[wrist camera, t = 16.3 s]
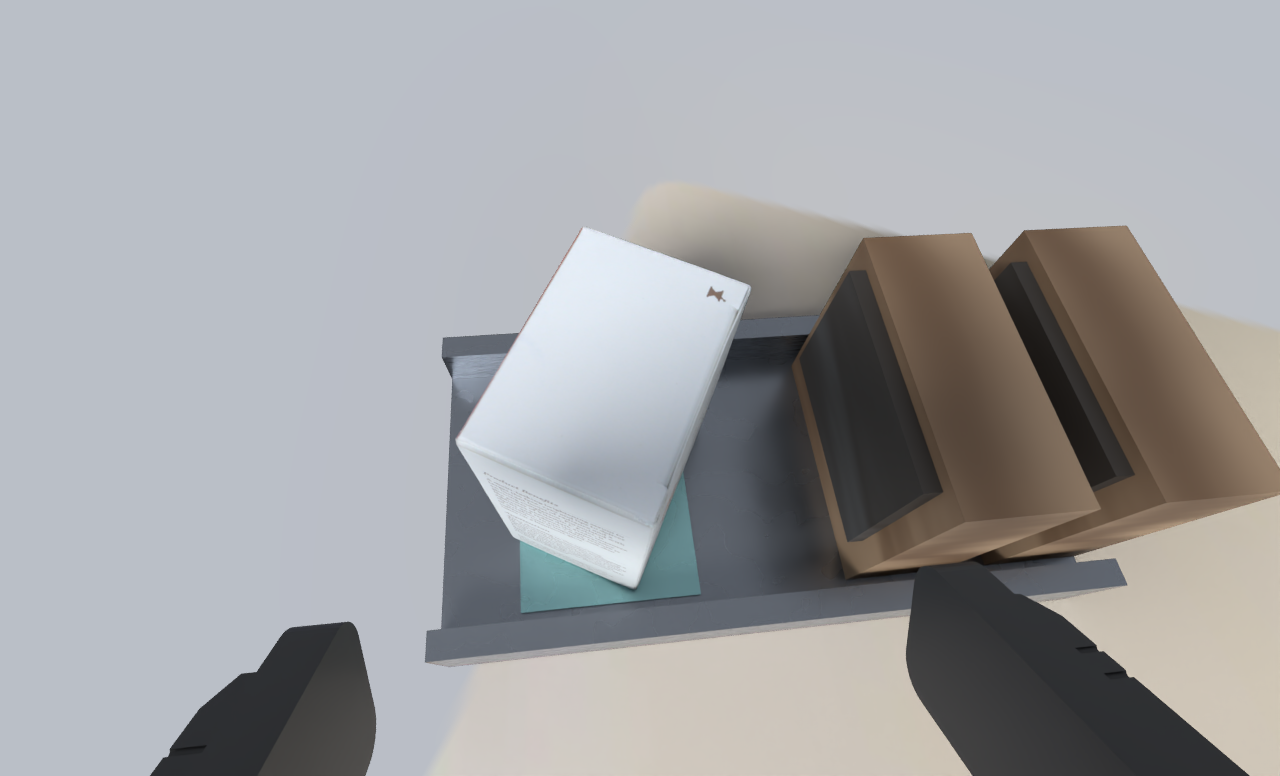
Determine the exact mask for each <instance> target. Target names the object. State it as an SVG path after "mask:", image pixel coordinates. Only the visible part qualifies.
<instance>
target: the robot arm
mask: <svg viewBox="0 0 1280 776" xmlns="http://www.w3.org/2000/svg"><path fill="white" fill-rule="evenodd" d="M906 661H907V668H908V672H909V676H910V679H911V682H912V685H913V687H914V689H915V691H916V693H917V695H918V697H919V699H920V700H921V702H922V703H923V705H924V706H925V707H926V709H927V710H928V712H929V713H930V715H931V716H932V718H933V719H934V721H935V722H936V723H937V725H938V726H939V728H940V729H941V731H942V732H943V734H944V735H945V736H946V738H947V739H948V741H949V742H950V744H951V745H952V747H953V748H954V749H955V751H956V752H957V754H958V755H959V757H960V758H961V760H962V761H963V762H964V764H965V765H966V767H967V768H968V770H969V771H970V773H971V774H972V775H973V776H1249V775H1248V774H1247V773H1246V772H1245V771H1243V770H1242V769H1241V768H1240V767H1239V766H1237V765H1236V764H1235V763H1234V762H1233V761H1232V760H1230V759H1229V758H1228V757H1227V756H1226V755H1225V754H1223V753H1222V752H1221V751H1220V750H1219V749H1218V748H1216V747H1215V746H1214V745H1213V744H1212V743H1211V742H1209V741H1208V740H1207V739H1206V738H1205V737H1203V736H1202V735H1201V734H1200V733H1199V732H1198V731H1196V730H1195V729H1194V728H1193V727H1192V726H1191V725H1189V724H1188V723H1187V722H1186V721H1185V720H1184V719H1182V718H1181V717H1180V716H1179V715H1178V714H1177V713H1175V712H1174V711H1173V710H1172V709H1171V708H1169V707H1168V706H1167V705H1166V704H1165V703H1164V702H1162V701H1161V700H1160V699H1159V698H1158V697H1157V696H1155V695H1154V694H1153V693H1152V692H1151V691H1150V690H1148V689H1147V688H1146V687H1145V686H1144V685H1142V684H1141V683H1140V682H1139V681H1138V680H1137V679H1135V678H1134V677H1132V678H1129V677H1128V676H1127V674H1126V670H1125V669H1124V668H1123V667H1121V666H1120V665H1119V664H1118V663H1117V662H1116V661H1114V660H1113V659H1112V658H1111V657H1110V656H1108V655H1107V654H1106V653H1105V652H1104V651H1102V652H1099V651H1098V650H1097V645H1096V644H1094V643H1093V642H1092V641H1091V640H1090V639H1089V638H1087V637H1086V636H1085V635H1084V634H1083V633H1081V632H1080V631H1079V630H1078V629H1077V628H1076V627H1074V626H1073V625H1072V624H1071V623H1070V622H1069V621H1067V620H1066V619H1065V618H1064V617H1063V616H1061V615H1059V614H1057V613H1056V612H1054V611H1052V610H1050V609H1048V608H1046V607H1044V606H1043V605H1041V604H1039V603H1037V602H1035V601H1033V600H1031V599H1030V598H1028V597H1026V596H1024V595H1022V594H1014V593H1013V592H1012V591H1011V590H1010V589H1009V588H1008V587H1006V586H1005V585H1004V584H1003V583H1002V582H1001V581H1000V580H999V579H997V578H996V577H995V576H994V575H993V574H992V573H991V572H990V571H988V570H987V569H986V568H985V567H984V566H982V565H981V564H979V563H977V562H973V561H971V562H960V563H950V564H940V565H930V566H923V567H921V568H920V569H919V570H918V571H917V573H916V576H915V580H914V588H913V596H912V605H911V613H910V622H909V630H908V639H907V647H906ZM375 734H376V714H375V707H374V702H373V698H372V693H371V689H370V684H369V680H368V676H367V671H366V667H365V662H364V658H363V653H362V649H361V644H360V640H359V635H358V632H357V630H356V628H355V626H354V625H353V624H352V623H351V622H341V623H331V624H321V625H312V626H302V627H292V628H289V629H288V630H287V631H285V632H284V633H283V634H282V636H281V637H280V638H279V640H278V641H277V643H276V644H275V646H274V647H273V649H272V650H271V652H270V653H269V655H268V656H267V658H266V659H265V660H264V662H263V664H262V665H261V666H260V668H259V669H258V671H257V672H254V673H244V674H241V675H239V676H238V677H237V678H236V679H235V680H233V681H232V682H231V683H230V684H229V685H227V686H226V687H225V688H224V689H223V690H221V691H220V692H219V693H218V694H217V695H215V696H214V697H213V698H212V699H211V700H209V702H207V703H206V704H205V705H204V706H202V707H201V708H200V709H199V710H198V712H197V713H196V714H195V716H194V717H193V718H192V720H191V721H190V722H189V724H188V725H187V726H186V728H185V729H184V731H183V732H182V733H181V735H180V736H179V737H178V739H177V740H176V741H175V743H174V744H173V745H172V747H171V748H170V754H169V756H168V757H165V758H163V759H162V760H161V762H160V763H159V764H158V766H157V767H156V768H155V770H154V771H153V772H152V774H151V775H150V776H365V775H366V772H367V769H368V766H369V764H370V760H371V757H372V753H373V749H374V742H375Z"/></svg>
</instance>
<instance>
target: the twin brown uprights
mask: <svg viewBox="0 0 1280 776" xmlns="http://www.w3.org/2000/svg"><path fill="white" fill-rule="evenodd" d="M791 367H792V370H793V374H794V378H795V382H796V386H797V390H798V394H799V398H800V402H801V406H802V410H803V414H804V418H805V422H806V425H807V429H808V433H809V437H810V441H811V445H812V449H813V453H814V457H815V461H816V465H817V469H818V473H819V477H820V480H821V484H822V488H823V492H824V496H825V500H826V504H827V508H828V512H829V516H830V520H831V524H832V528H833V532H834V536H835V539H836V543H837V547H838V551H839V555H840V559H841V563H842V567H843V571H844V575H845V579H846V580H849V579H859V578H869V577H878V576H888V575H897V574H907V573H917V571H918V570H919V569H920V568H921V567H923V566H930V565H940V564H950V563H959V562H962V561H965V560H967V559H970V558H973V557H975V556H978V555H981V557H982V560H983V562H984V565H994V564H1003V563H1013V562H1023V561H1032V560H1042V559H1051V558H1061V557H1071V556H1076V555H1079V554H1083V553H1086V552H1089V551H1093V550H1096V549H1099V548H1103V547H1106V546H1109V545H1113V544H1116V543H1120V542H1123V541H1126V540H1130V539H1133V538H1136V537H1140V536H1143V535H1146V534H1150V533H1153V532H1156V531H1160V530H1163V529H1166V528H1170V527H1173V526H1176V525H1180V524H1183V523H1187V522H1190V521H1193V520H1197V519H1200V518H1203V517H1207V516H1210V515H1213V514H1217V513H1220V512H1223V511H1227V510H1230V509H1233V508H1237V507H1240V506H1243V505H1247V504H1250V503H1254V502H1257V501H1260V500H1264V499H1267V498H1270V497H1274V496H1277V495H1280V468H1279V467H1278V465H1277V464H1276V462H1275V460H1274V459H1273V457H1272V456H1271V454H1270V453H1269V451H1268V449H1267V448H1266V446H1265V445H1264V443H1263V441H1262V440H1261V438H1260V437H1259V435H1258V433H1257V432H1256V430H1255V429H1254V427H1253V426H1252V424H1251V422H1250V421H1249V419H1248V418H1247V416H1246V414H1245V413H1244V411H1243V410H1242V408H1241V406H1240V405H1239V403H1238V402H1237V400H1236V398H1235V397H1234V395H1233V394H1232V392H1231V391H1230V389H1229V387H1228V386H1227V384H1226V383H1225V381H1224V379H1223V378H1222V376H1221V375H1220V373H1219V371H1218V370H1217V368H1216V367H1215V365H1214V363H1213V362H1212V360H1211V359H1210V357H1209V356H1208V354H1207V352H1206V351H1205V349H1204V348H1203V346H1202V344H1201V343H1200V341H1199V340H1198V338H1197V336H1196V335H1195V333H1194V332H1193V330H1192V329H1191V327H1190V325H1189V324H1188V322H1187V321H1186V319H1185V317H1184V316H1183V314H1182V313H1181V311H1180V309H1179V308H1178V306H1177V305H1176V303H1175V301H1174V300H1173V298H1172V297H1171V295H1170V294H1169V292H1168V290H1167V289H1166V287H1165V286H1164V284H1163V282H1162V281H1161V279H1160V278H1159V276H1158V274H1157V273H1156V271H1155V270H1154V268H1153V267H1152V265H1151V263H1150V262H1149V260H1148V259H1147V257H1146V255H1145V254H1144V252H1143V251H1142V249H1141V248H1140V246H1139V244H1138V243H1137V241H1136V239H1135V238H1134V236H1133V235H1132V233H1131V232H1130V230H1129V228H1128V227H1127V226H1109V227H1087V228H1068V229H1067V228H1066V229H1046V230H1024V231H1023V232H1022V234H1021V235H1020V236H1019V237H1018V238H1017V239H1016V240H1015V241H1014V243H1013V244H1012V245H1011V246H1010V247H1009V248H1008V249H1007V250H1006V251H1005V252H1004V254H1003V255H1002V256H1001V257H1000V258H999V259H998V260H997V261H996V262H995V264H994V265H993V266H992V267H991V268H990V269H988V267H987V265H986V263H985V261H984V258H983V256H982V254H981V252H980V250H979V248H978V246H977V243H976V241H975V239H974V237H973V235H972V233H961V234H941V235H918V236H897V237H876V238H863V240H862V241H861V243H860V245H859V247H858V249H857V250H856V252H855V254H854V256H853V257H852V259H851V261H850V263H849V265H848V266H847V268H846V270H845V272H844V273H843V275H842V277H841V279H840V281H839V282H838V284H837V286H836V288H835V289H834V291H833V293H832V295H831V296H830V298H829V300H828V302H827V304H826V305H825V307H824V309H823V311H822V312H821V314H820V316H819V318H818V320H817V321H816V323H815V325H814V327H813V328H812V330H811V332H810V334H809V336H808V337H807V339H806V341H805V343H804V344H803V346H802V348H801V350H800V351H799V353H798V355H797V357H796V359H795V360H794V362H793V364H792V366H791Z"/></svg>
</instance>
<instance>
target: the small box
mask: <svg viewBox="0 0 1280 776" xmlns="http://www.w3.org/2000/svg"><path fill="white" fill-rule="evenodd" d="M750 292H751V286H750V285H748V284H745V283H743V282H740V281H737V280H735V279H732V278H729V277H726V276H723V275H721V274H718V273H716V272H713V271H710V270H707V269H704V268H701V267H699V266H696V265H693V264H690V263H687V262H685V261H682V260H679V259H676V258H673V257H670V256H668V255H665V254H662V253H659V252H656V251H653V250H651V249H648V248H645V247H642V246H640V245H637V244H634V243H631V242H628V241H626V240H623V239H620V238H617V237H614V236H611V235H608V234H606V233H602V232H599V231H595V230H593V229H591V228H588V227H582V228H581V230H580V232H579V234H578V235H577V237H576V239H575V240H574V242H573V244H572V245H571V247H570V249H569V250H568V252H567V253H566V255H565V257H564V258H563V260H562V262H561V264H560V265H559V267H558V269H557V270H556V272H555V274H554V275H553V277H552V279H551V280H550V282H549V284H548V285H547V287H546V289H545V290H544V292H543V294H542V296H541V297H540V299H539V301H538V302H537V304H536V306H535V308H534V309H533V311H532V313H531V314H530V316H529V318H528V319H527V321H526V323H525V324H524V326H523V328H522V329H521V331H520V333H519V334H518V336H517V337H516V339H515V341H514V343H513V345H512V346H511V348H510V349H509V351H508V353H507V354H506V356H505V358H504V360H503V361H502V363H501V365H500V366H499V368H498V370H497V371H496V373H495V375H494V376H493V378H492V380H491V381H490V383H489V384H488V386H487V388H486V389H485V391H484V393H483V394H482V396H481V398H480V399H479V401H478V403H477V404H476V406H475V408H474V409H473V411H472V413H471V414H470V416H469V418H468V419H467V421H466V423H465V425H464V426H463V428H462V430H461V431H460V432H459V434H458V435H457V437H456V439H455V440H456V444H457V446H458V448H459V450H460V451H461V453H462V454H463V456H464V458H465V459H466V461H467V463H468V464H469V466H470V467H471V469H472V471H473V472H474V474H475V475H476V477H477V479H478V480H479V482H480V484H481V485H482V487H483V489H484V491H485V492H486V494H487V495H488V497H489V499H490V500H491V502H492V504H493V505H494V507H495V508H496V510H497V512H498V513H499V515H500V517H501V518H502V520H503V522H504V523H505V525H506V526H507V528H508V530H509V531H510V533H511V534H512V536H513V537H514V538H516V539H518V540H521V541H523V542H525V543H527V544H529V545H531V546H533V547H536V548H538V549H540V550H542V551H545V552H547V553H549V554H551V555H554V556H556V557H558V558H560V559H563V560H565V561H567V562H570V563H572V564H574V565H577V566H579V567H581V568H583V569H586V570H588V571H590V572H592V573H595V574H597V575H599V576H602V577H604V578H606V579H608V580H611V581H613V582H616V583H618V584H620V585H623V586H625V587H628V588H630V589H633V590H635V589H637V587H638V585H639V583H640V580H641V578H642V575H643V573H644V570H645V567H646V565H647V562H648V560H649V557H650V555H651V552H652V549H653V547H654V544H655V542H656V539H657V536H658V534H659V531H660V529H661V526H662V523H663V521H664V518H665V516H666V513H667V510H668V508H669V505H670V503H671V500H672V498H673V495H674V493H675V490H676V488H677V485H678V483H679V480H680V478H681V475H682V473H683V470H684V468H685V465H686V463H687V460H688V458H689V455H690V453H691V450H692V447H693V445H694V442H695V440H696V437H697V435H698V432H699V430H700V427H701V424H702V422H703V419H704V417H705V414H706V411H707V409H708V406H709V404H710V401H711V398H712V396H713V393H714V390H715V388H716V385H717V382H718V380H719V377H720V374H721V371H722V369H723V366H724V363H725V360H726V358H727V355H728V352H729V349H730V346H731V344H732V341H733V338H734V335H735V333H736V330H737V327H738V324H739V322H740V319H741V316H742V314H743V311H744V308H745V305H746V303H747V300H748V298H749V295H750Z"/></svg>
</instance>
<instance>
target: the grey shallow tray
mask: <svg viewBox="0 0 1280 776" xmlns="http://www.w3.org/2000/svg"><path fill="white" fill-rule="evenodd" d="M819 316H820V315H814V316H798V317H781V318H764V319H748V320H740V322H739V324H738V327H737V330H736V333H735V335H734V338H733V341H732V344H731V346H730V349H729V352H728V355H727V358H726V360H725V363H724V366H723V369H722V371H721V374H720V377H719V380H718V382H717V385H716V388H715V390H714V393H713V396H712V398H711V401H710V404H709V406H708V409H707V411H706V414H705V417H704V419H703V422H702V424H701V427H700V430H699V432H698V435H697V437H696V440H695V442H694V445H693V447H692V450H691V453H690V455H689V458H688V460H687V463H686V465H685V468H684V470H683V473H682V475H681V478H680V480H679V483H678V485H677V488H676V490H675V493H674V495H673V498H672V500H671V503H670V505H669V508H668V510H667V513H666V516H665V518H664V521H663V523H662V526H661V529H660V531H659V534H658V536H657V539H656V542H655V544H654V547H653V549H652V552H651V555H650V557H649V560H648V562H647V565H646V567H645V570H644V573H643V575H642V578H641V580H640V583H639V585H638V587H637V589H635V590H633V589H630V588H628V587H625V586H623V585H620V584H618V583H616V582H613V581H611V580H608V579H606V578H604V577H602V576H599V575H597V574H595V573H592V572H590V571H588V570H586V569H583V568H581V567H579V566H577V565H574V564H572V563H570V562H567V561H565V560H563V559H560V558H558V557H556V556H554V555H551V554H549V553H547V552H545V551H542V550H540V549H538V548H536V547H533V546H531V545H529V544H527V543H525V542H523V541H521V540H518V539H516V538H514V537H513V536H512V534H511V533H510V531H509V530H508V528H507V526H506V525H505V523H504V522H503V520H502V518H501V517H500V515H499V513H498V512H497V510H496V508H495V507H494V505H493V504H492V502H491V500H490V499H489V497H488V495H487V494H486V492H485V491H484V489H483V487H482V485H481V484H480V482H479V480H478V479H477V477H476V475H475V474H474V472H473V471H472V469H471V467H470V466H469V464H468V463H467V461H466V459H465V458H464V456H463V454H462V453H461V451H460V450H459V448H458V446H457V444H456V440H455V439H456V437H457V435H458V434H459V432H460V431H461V430H462V428H463V426H464V425H465V423H466V421H467V419H468V418H469V416H470V414H471V413H472V411H473V409H474V408H475V406H476V404H477V403H478V401H479V399H480V398H481V396H482V394H483V393H484V391H485V389H486V388H487V386H488V384H489V383H490V381H491V380H492V378H493V376H494V375H495V373H496V371H497V370H498V368H499V366H500V365H501V363H502V361H503V360H504V358H505V356H506V354H507V353H508V351H509V349H510V348H511V346H512V345H513V343H514V341H515V339H516V337H517V336H518V334H519V333H514V334H497V335H480V336H465V337H464V336H463V337H447V338H443V345H442V359H443V361H444V363H445V365H446V367H447V369H448V371H449V373H450V375H451V377H452V402H451V423H450V447H449V470H448V490H447V515H446V536H445V558H444V580H443V581H444V582H443V605H442V626H441V627H442V628H441V629H440V630H430V631H427V638H426V656H425V662H426V663H431V664H436V665H442V666H447V667H452V666H462V665H471V664H480V663H489V662H498V661H507V660H516V659H525V658H534V657H543V656H552V655H561V654H570V653H579V652H588V651H597V650H606V649H615V648H624V647H633V646H642V645H651V644H660V643H669V642H678V641H687V640H696V639H705V638H714V637H723V636H732V635H741V634H750V633H759V632H768V631H777V630H786V629H795V628H804V627H813V626H822V625H831V624H840V623H849V622H858V621H867V620H876V619H885V618H894V617H903V616H910V613H911V605H912V596H913V588H914V580H915V576H916V573H907V574H897V575H888V576H878V577H869V578H859V579H849V580H846V579H845V575H844V571H843V567H842V563H841V559H840V555H839V551H838V547H837V543H836V539H835V536H834V532H833V528H832V524H831V520H830V516H829V512H828V508H827V504H826V500H825V496H824V492H823V488H822V484H821V480H820V477H819V473H818V469H817V465H816V461H815V457H814V453H813V449H812V445H811V441H810V437H809V433H808V429H807V425H806V422H805V418H804V414H803V410H802V406H801V402H800V398H799V394H798V390H797V386H796V382H795V378H794V374H793V370H792V367H791V366H792V364H793V362H794V360H795V359H796V357H797V355H798V353H799V351H800V350H801V348H802V346H803V344H804V343H805V341H806V339H807V337H808V336H809V334H810V332H811V330H812V328H813V327H814V325H815V323H816V321H817V320H818V318H819ZM971 561H973V562H977V563H979V564H981V565H982V566H984V567H985V568H986V569H987V570H988V571H990V572H991V573H992V574H993V575H994V576H995V577H996V578H997V579H999V580H1000V581H1001V582H1002V583H1003V584H1004V585H1005V586H1006V587H1008V588H1009V589H1010V590H1011V591H1012V592H1013V593H1014V594H1022V595H1024V596H1026V597H1028V598H1030V599H1031V600H1033V601H1035V602H1038V601H1047V600H1056V599H1065V598H1070V597H1074V596H1079V595H1084V594H1089V593H1093V592H1098V591H1103V590H1107V589H1112V588H1117V587H1122V586H1126V585H1127V583H1126V580H1125V578H1124V576H1123V574H1122V572H1121V570H1120V567H1119V565H1118V563H1117V561H1116V559H1106V560H1096V561H1087V562H1077V563H1076V561H1075V558H1074V556H1071V557H1061V558H1051V559H1042V560H1032V561H1023V562H1013V563H1003V564H994V565H984V562H983V560H982V557H981V555H978V556H975V557H973V558H970V559H967V560H965V561H962V562H971ZM959 563H960V562H959Z"/></svg>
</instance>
